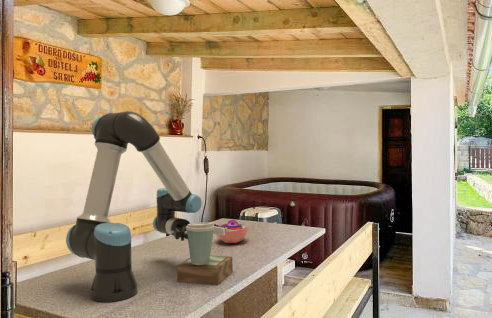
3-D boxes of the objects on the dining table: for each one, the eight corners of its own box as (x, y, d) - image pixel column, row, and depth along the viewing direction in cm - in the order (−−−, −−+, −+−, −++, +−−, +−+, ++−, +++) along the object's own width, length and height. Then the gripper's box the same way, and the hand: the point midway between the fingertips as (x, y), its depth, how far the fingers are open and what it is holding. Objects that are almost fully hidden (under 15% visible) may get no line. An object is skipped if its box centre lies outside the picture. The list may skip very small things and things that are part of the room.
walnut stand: (218, 284, 144) (217, 267, 143) (177, 281, 148) (177, 264, 148) (232, 271, 159) (232, 255, 159) (195, 269, 164) (195, 253, 163)
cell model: (210, 246, 202) (209, 224, 202) (222, 237, 221) (221, 217, 221) (242, 247, 198) (242, 224, 198) (251, 238, 217) (251, 218, 217)
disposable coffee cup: (181, 262, 151) (180, 222, 150) (206, 257, 157) (205, 219, 156) (194, 268, 142) (193, 226, 142) (220, 263, 148) (220, 222, 148)
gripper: (203, 231, 175) (235, 239, 159) (152, 241, 158) (182, 250, 142) (202, 214, 175) (235, 220, 159) (151, 222, 158) (182, 229, 142)
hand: (210, 234), depth 151 cm, fingers open, 13 cm apart
